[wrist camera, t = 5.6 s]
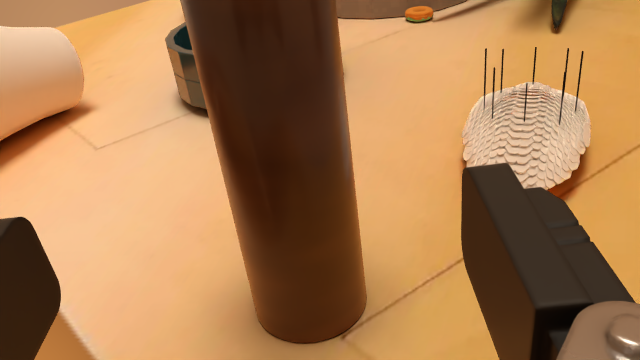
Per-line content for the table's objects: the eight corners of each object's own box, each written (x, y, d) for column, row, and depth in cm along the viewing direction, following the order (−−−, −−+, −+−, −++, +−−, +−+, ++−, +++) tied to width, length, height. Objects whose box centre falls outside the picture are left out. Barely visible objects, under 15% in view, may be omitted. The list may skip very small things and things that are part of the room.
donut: (493, -17, 55) (493, -6, 56) (400, 8, 52) (400, 19, 53) (510, -12, 54) (510, -1, 54) (414, 14, 50) (415, 25, 51)
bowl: (361, 54, 46) (356, -3, 44) (310, 122, 37) (301, 55, 34) (226, 54, 50) (215, 2, 48) (149, 116, 41) (130, 55, 38)
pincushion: (583, 229, 24) (601, 108, 22) (440, 211, 27) (439, 99, 24) (589, 108, 34) (603, 12, 31) (482, 103, 36) (485, 13, 33)
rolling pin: (378, 271, 24) (339, -183, 15) (348, 352, 20) (277, -176, 12) (280, 258, 25) (197, -162, 17) (237, 332, 22) (105, -151, 13)
